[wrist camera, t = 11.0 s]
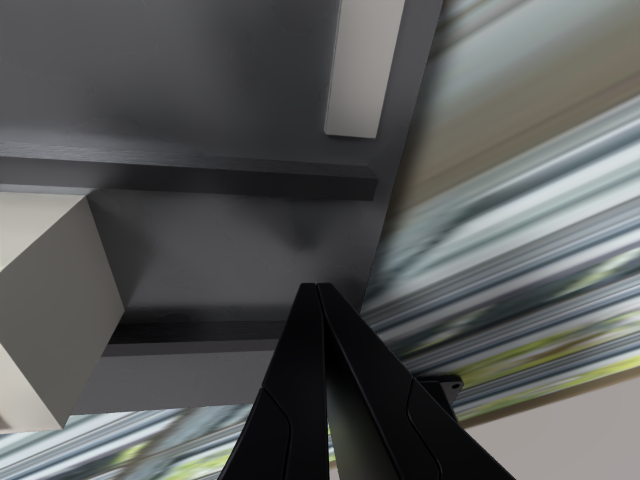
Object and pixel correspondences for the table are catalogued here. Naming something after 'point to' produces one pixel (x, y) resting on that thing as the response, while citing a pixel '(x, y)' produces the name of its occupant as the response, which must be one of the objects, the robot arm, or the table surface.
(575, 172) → the table surface
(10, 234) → the breaker lever
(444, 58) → the table surface
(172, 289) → the panel
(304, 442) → the robot arm
